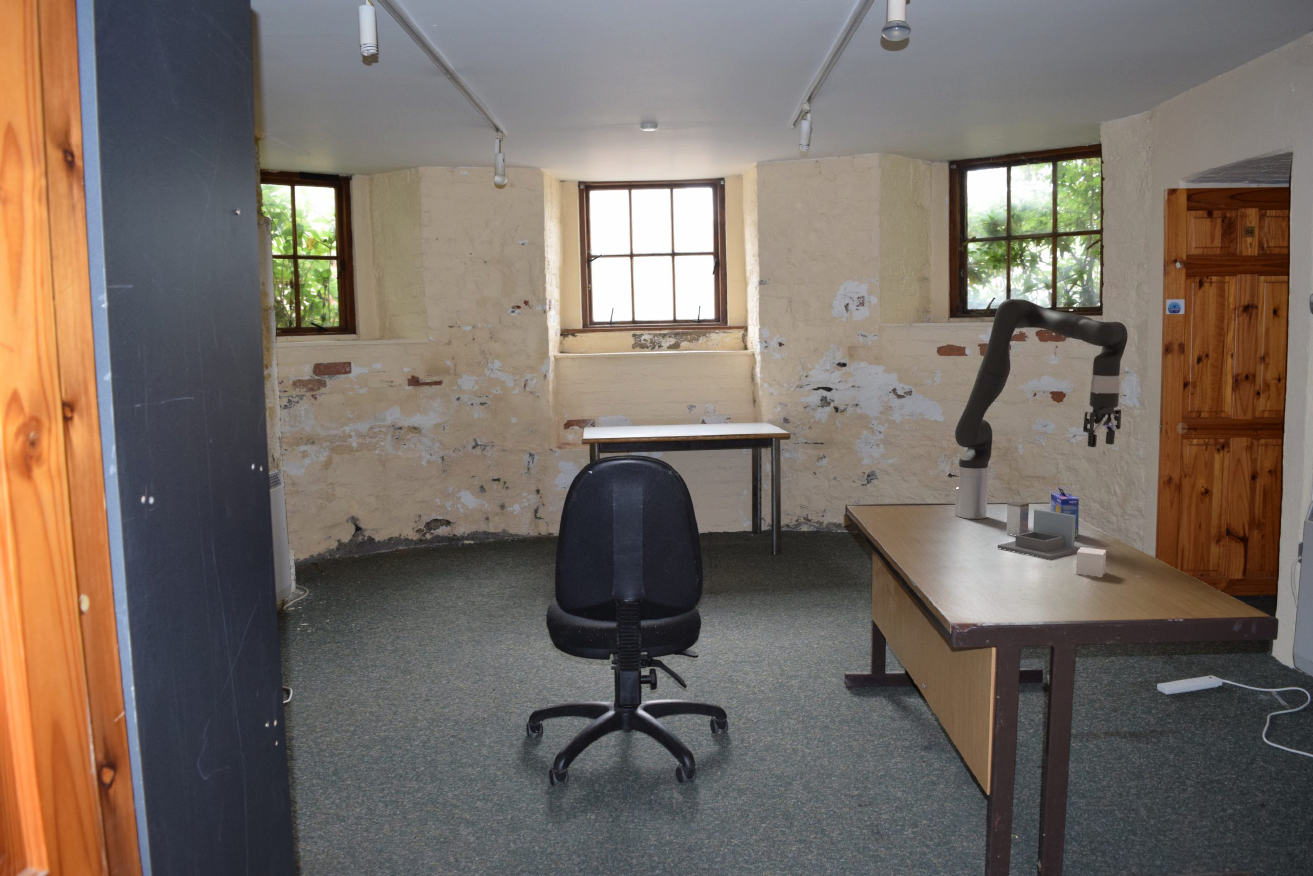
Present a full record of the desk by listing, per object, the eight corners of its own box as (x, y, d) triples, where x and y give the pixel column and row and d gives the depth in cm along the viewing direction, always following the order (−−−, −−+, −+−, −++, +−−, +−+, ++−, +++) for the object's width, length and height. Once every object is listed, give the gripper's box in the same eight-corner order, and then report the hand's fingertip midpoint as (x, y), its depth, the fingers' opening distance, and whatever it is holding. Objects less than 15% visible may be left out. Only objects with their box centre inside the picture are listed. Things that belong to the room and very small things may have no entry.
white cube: (1101, 578, 221) (1102, 554, 220) (1076, 574, 224) (1076, 551, 224) (1105, 572, 226) (1106, 549, 225) (1079, 569, 229) (1080, 547, 229)
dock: (997, 548, 252) (998, 514, 251) (1030, 540, 261) (1031, 508, 260) (1049, 559, 239) (1050, 524, 238) (1081, 551, 248) (1082, 516, 247)
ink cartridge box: (1048, 530, 274) (1050, 485, 273) (1066, 530, 274) (1068, 485, 272) (1059, 537, 265) (1061, 490, 263) (1078, 538, 264) (1080, 490, 262)
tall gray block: (1006, 534, 270) (1007, 502, 268) (1014, 532, 272) (1016, 501, 271) (1019, 537, 266) (1020, 504, 265) (1027, 535, 268) (1028, 503, 267)
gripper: (1107, 388, 260) (1103, 441, 263) (1077, 391, 253) (1073, 446, 256) (1131, 390, 254) (1127, 445, 256) (1101, 393, 247) (1097, 449, 249)
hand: (1100, 445), depth 256 cm, fingers open, 8 cm apart
